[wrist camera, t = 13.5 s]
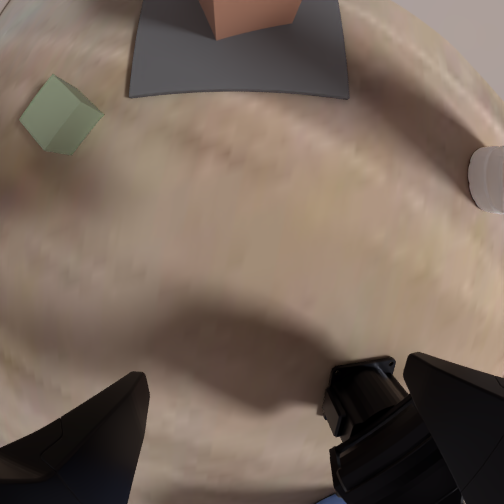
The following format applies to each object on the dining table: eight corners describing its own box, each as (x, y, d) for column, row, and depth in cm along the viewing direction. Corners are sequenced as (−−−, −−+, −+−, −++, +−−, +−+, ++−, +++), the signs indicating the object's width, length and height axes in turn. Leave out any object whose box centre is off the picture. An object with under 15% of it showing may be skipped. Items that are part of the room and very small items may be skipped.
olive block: (104, 114, 18) (81, 102, 14) (72, 155, 18) (44, 150, 15) (77, 88, 17) (52, 73, 13) (47, 127, 18) (18, 119, 14)
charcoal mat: (328, -38, 16) (329, -41, 15) (347, 99, 19) (349, 98, 19) (155, -41, 15) (154, -44, 14) (131, 98, 18) (128, 96, 17)
